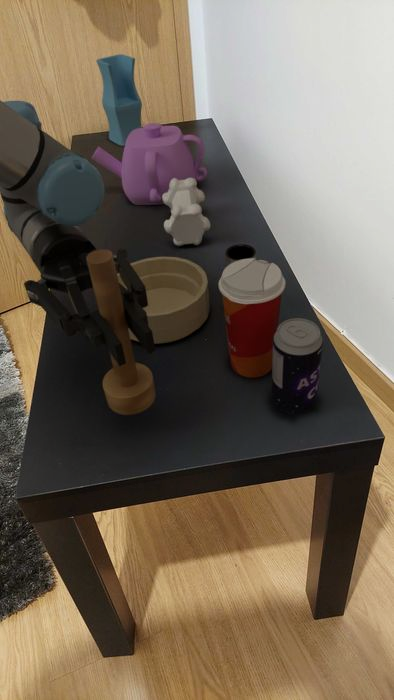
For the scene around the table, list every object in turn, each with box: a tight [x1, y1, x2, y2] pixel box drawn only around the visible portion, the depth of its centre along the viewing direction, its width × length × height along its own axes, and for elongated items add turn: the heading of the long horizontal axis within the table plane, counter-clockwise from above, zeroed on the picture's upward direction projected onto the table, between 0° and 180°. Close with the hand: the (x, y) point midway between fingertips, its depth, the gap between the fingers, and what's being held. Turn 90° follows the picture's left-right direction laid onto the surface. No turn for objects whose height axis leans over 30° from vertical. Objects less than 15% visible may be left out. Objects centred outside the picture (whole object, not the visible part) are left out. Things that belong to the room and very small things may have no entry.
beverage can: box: [271, 317, 324, 415], centre depth 62 cm, size 6×6×12 cm
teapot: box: [91, 122, 208, 206], centre depth 111 cm, size 19×21×14 cm
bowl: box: [117, 256, 211, 345], centre depth 80 cm, size 16×16×6 cm
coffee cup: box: [218, 258, 286, 378], centre depth 67 cm, size 8×8×15 cm
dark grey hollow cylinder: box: [224, 243, 257, 268], centre depth 78 cm, size 4×4×10 cm
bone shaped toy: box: [162, 178, 211, 247], centre depth 99 cm, size 15×9×8 cm, turn 5°
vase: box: [95, 53, 143, 147], centre depth 136 cm, size 8×8×20 cm
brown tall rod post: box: [86, 248, 157, 416], centre depth 56 cm, size 6×6×20 cm
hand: (135, 348), depth 51 cm, fingers closed on brown tall rod post, 3 cm apart
